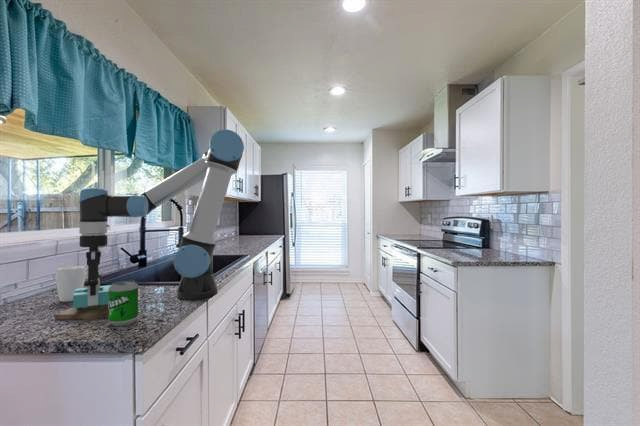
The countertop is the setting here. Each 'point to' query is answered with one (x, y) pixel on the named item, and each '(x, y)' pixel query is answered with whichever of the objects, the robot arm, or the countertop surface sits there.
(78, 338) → the countertop surface
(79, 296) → the teal u-shaped block
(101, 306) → the post fixture
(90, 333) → the countertop surface
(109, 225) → the robot arm
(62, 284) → the cup
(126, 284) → the soda can
